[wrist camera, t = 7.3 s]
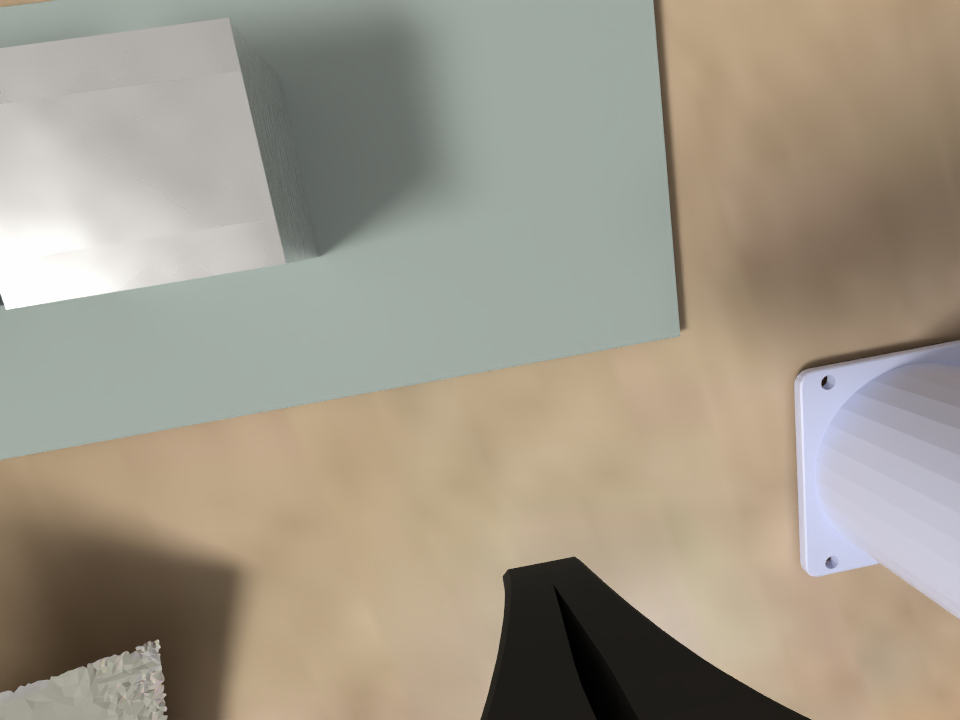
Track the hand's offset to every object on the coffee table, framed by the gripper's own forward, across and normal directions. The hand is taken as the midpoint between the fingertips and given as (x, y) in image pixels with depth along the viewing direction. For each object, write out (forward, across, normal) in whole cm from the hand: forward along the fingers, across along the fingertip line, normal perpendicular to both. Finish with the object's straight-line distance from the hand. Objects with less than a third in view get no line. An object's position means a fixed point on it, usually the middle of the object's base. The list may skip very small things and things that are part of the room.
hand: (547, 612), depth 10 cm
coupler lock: (+9, +7, -9) cm, 15 cm away
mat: (+9, +4, -8) cm, 13 cm away
